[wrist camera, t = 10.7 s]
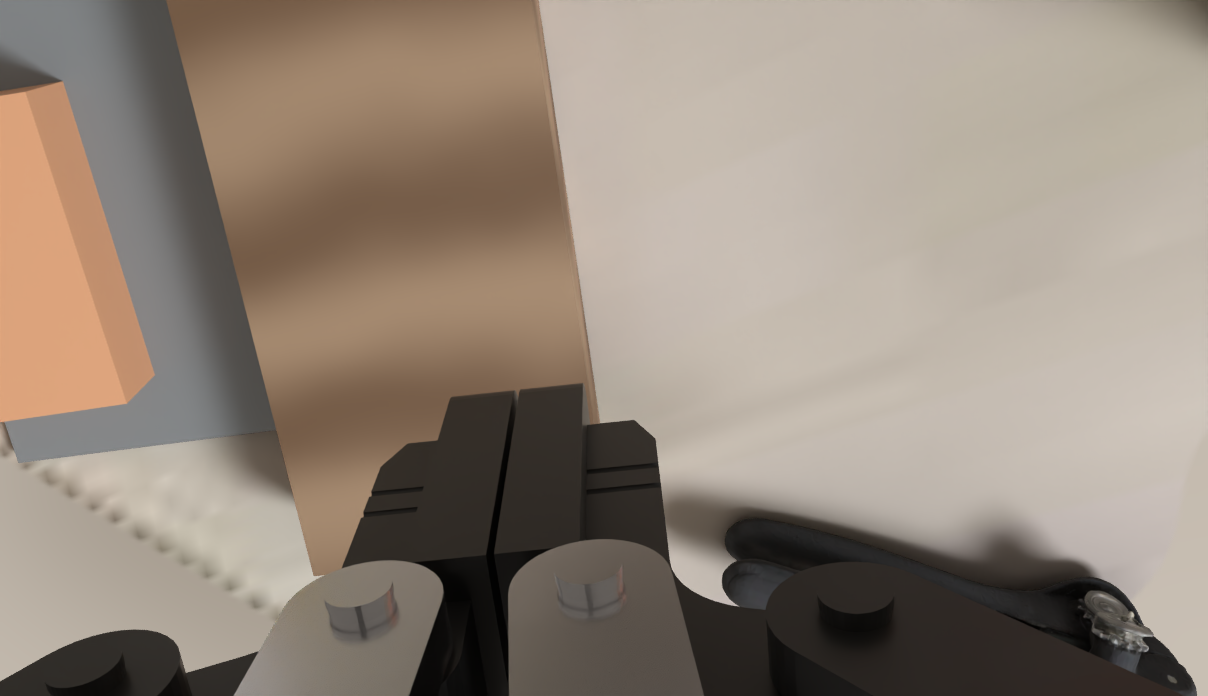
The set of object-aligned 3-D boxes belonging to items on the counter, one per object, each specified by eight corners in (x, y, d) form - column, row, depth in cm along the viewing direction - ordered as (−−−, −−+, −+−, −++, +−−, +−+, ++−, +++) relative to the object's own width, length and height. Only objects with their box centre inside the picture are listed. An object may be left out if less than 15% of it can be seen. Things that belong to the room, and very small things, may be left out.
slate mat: (-134, -10, 35) (-146, -9, 34) (183, -55, 34) (176, -54, 34) (26, 455, 40) (18, 463, 40) (301, 420, 40) (296, 427, 39)
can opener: (1181, 587, 43) (1264, 679, 38) (1092, 727, 45) (1158, 832, 40) (755, 442, 41) (779, 519, 35) (683, 597, 43) (696, 691, 38)
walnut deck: (164, -201, 33) (109, -218, 29) (502, -250, 33) (490, -274, 29) (338, 517, 41) (313, 576, 37) (608, 484, 41) (611, 539, 37)
